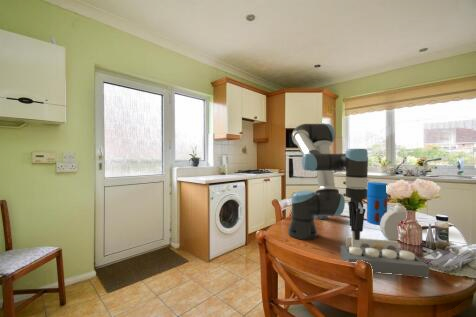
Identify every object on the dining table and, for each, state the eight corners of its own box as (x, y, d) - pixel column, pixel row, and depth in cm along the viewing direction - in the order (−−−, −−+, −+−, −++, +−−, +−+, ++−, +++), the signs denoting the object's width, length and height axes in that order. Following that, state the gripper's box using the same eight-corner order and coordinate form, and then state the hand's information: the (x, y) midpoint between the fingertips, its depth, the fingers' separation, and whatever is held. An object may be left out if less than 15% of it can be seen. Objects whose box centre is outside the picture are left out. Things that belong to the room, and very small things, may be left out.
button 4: (403, 263, 81) (403, 255, 81) (396, 257, 86) (396, 249, 86) (417, 264, 80) (417, 256, 80) (410, 258, 85) (410, 250, 85)
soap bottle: (413, 238, 113) (413, 199, 113) (419, 242, 108) (420, 202, 108) (379, 235, 116) (379, 198, 116) (383, 239, 111) (384, 200, 110)
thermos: (391, 224, 135) (391, 184, 135) (379, 226, 131) (379, 185, 131) (374, 219, 146) (375, 181, 145) (362, 221, 142) (363, 182, 141)
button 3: (385, 261, 83) (385, 253, 83) (379, 255, 87) (380, 248, 87) (398, 262, 82) (399, 254, 82) (392, 257, 86) (392, 249, 86)
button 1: (350, 258, 85) (351, 250, 85) (347, 253, 90) (347, 245, 89) (363, 259, 84) (363, 251, 84) (359, 254, 89) (359, 246, 89)
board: (348, 270, 82) (349, 258, 82) (340, 255, 94) (340, 245, 94) (428, 278, 77) (429, 266, 76) (409, 261, 88) (409, 251, 88)
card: (346, 253, 95) (346, 238, 95) (345, 252, 96) (346, 237, 96) (398, 258, 91) (398, 241, 91) (396, 257, 92) (397, 240, 92)
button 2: (367, 259, 84) (367, 252, 84) (363, 254, 88) (363, 247, 88) (381, 261, 83) (381, 253, 83) (376, 255, 87) (376, 248, 87)
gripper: (373, 190, 79) (372, 255, 79) (361, 185, 92) (360, 241, 92) (351, 189, 81) (350, 253, 81) (341, 185, 93) (341, 239, 94)
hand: (355, 246), depth 87 cm, fingers closed
